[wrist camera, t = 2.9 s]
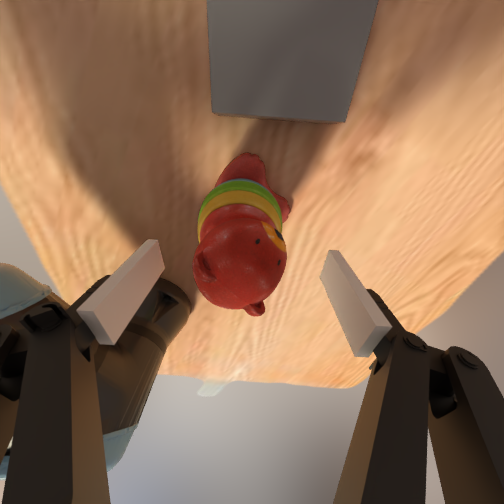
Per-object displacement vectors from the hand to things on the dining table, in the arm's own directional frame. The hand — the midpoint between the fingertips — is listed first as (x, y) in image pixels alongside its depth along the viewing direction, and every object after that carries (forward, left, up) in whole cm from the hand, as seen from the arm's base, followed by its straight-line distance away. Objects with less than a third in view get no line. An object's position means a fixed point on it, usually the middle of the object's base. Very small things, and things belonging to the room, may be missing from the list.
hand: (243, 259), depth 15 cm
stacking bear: (0, 0, -14) cm, 14 cm away
